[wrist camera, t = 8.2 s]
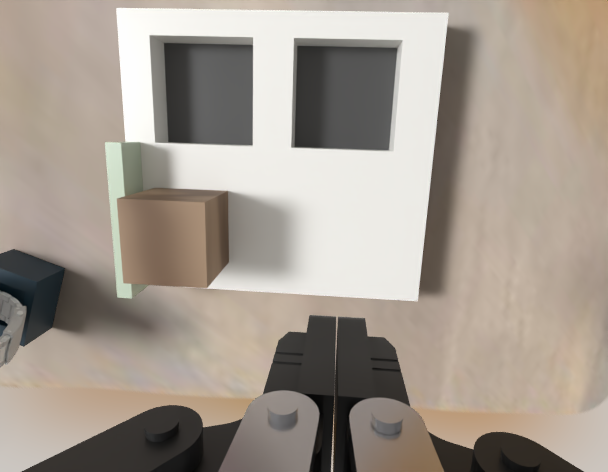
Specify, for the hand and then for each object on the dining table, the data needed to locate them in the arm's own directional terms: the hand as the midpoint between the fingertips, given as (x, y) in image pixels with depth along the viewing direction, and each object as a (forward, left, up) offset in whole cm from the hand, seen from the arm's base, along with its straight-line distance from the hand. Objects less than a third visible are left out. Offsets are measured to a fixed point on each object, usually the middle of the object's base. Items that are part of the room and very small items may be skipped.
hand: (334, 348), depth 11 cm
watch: (+24, +7, -19) cm, 32 cm away
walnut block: (+10, +1, -17) cm, 19 cm away
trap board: (+4, -4, -19) cm, 20 cm away
